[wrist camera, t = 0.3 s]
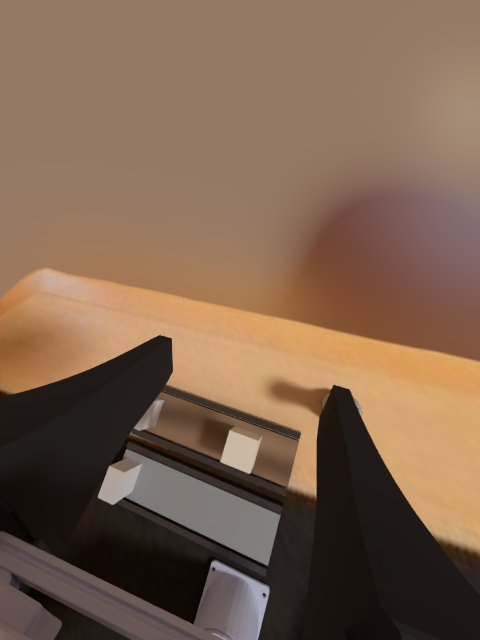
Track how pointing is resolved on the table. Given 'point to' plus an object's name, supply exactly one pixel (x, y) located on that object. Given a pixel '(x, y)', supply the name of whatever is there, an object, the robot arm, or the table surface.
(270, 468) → the strip
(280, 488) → the lane rails
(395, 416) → the table surface
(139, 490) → the strip
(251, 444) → the cube
